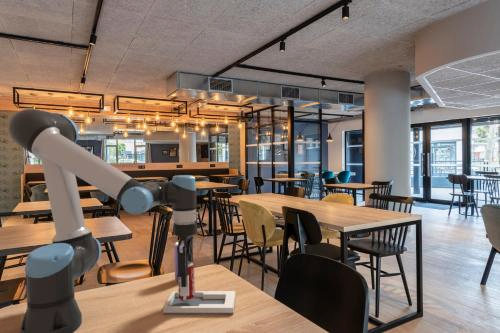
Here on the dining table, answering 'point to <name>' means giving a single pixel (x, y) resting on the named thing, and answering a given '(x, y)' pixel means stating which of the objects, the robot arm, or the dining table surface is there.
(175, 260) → the beverage can
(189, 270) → the soda can
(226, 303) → the keyhole board
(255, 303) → the dining table surface
